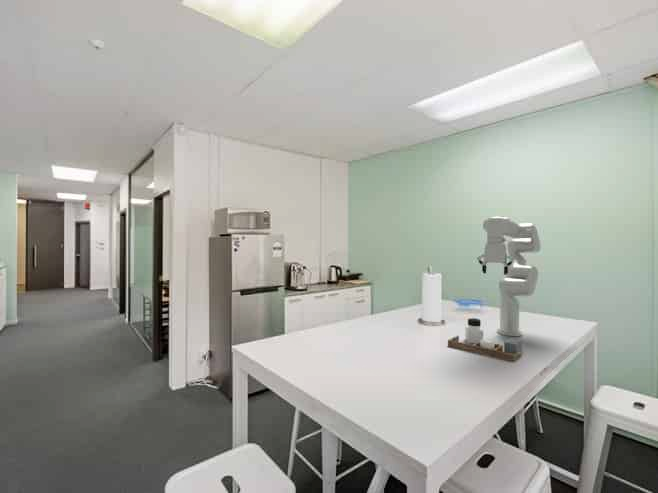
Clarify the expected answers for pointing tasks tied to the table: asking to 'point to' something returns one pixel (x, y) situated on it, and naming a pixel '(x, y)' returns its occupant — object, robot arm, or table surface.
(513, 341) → the grey rectangular block
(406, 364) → the table surface
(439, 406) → the table surface
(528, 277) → the robot arm
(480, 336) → the medicine bottle
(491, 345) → the white rounded lump
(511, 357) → the wooden compartment tray
